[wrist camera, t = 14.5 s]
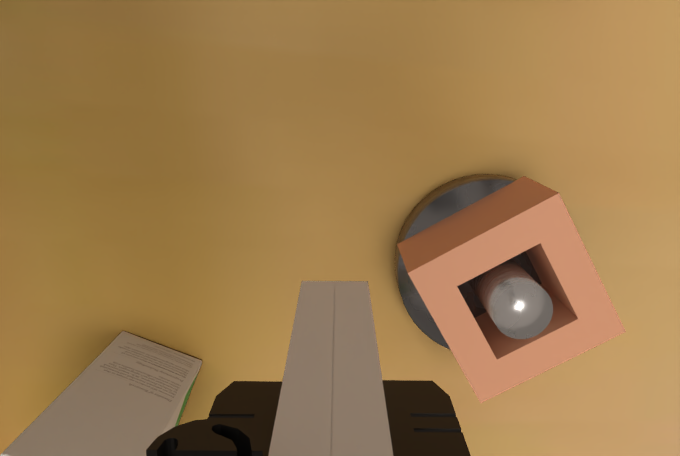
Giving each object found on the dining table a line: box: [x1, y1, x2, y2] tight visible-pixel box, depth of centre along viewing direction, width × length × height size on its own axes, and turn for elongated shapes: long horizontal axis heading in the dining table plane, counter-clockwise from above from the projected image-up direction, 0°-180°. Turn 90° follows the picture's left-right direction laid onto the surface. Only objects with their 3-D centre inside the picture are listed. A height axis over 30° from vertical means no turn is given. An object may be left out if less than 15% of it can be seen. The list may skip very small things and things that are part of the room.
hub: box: [395, 174, 553, 350], centre depth 36 cm, size 12×12×10 cm
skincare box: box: [0, 331, 202, 456], centre depth 35 cm, size 8×7×16 cm
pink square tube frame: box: [397, 176, 626, 403], centre depth 35 cm, size 9×9×6 cm
